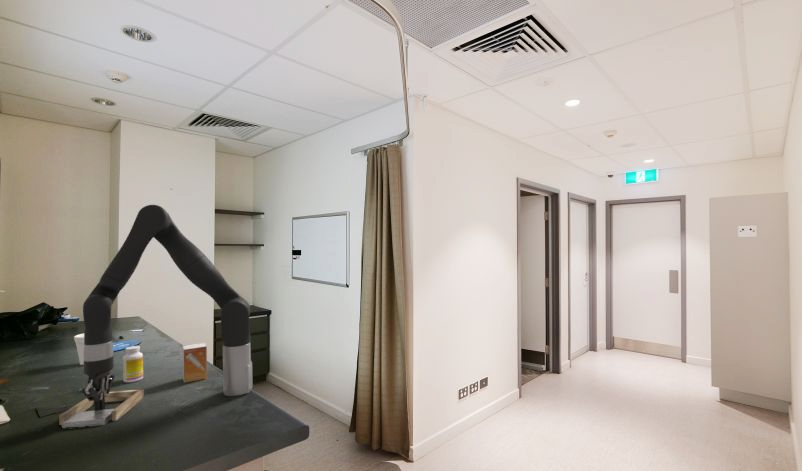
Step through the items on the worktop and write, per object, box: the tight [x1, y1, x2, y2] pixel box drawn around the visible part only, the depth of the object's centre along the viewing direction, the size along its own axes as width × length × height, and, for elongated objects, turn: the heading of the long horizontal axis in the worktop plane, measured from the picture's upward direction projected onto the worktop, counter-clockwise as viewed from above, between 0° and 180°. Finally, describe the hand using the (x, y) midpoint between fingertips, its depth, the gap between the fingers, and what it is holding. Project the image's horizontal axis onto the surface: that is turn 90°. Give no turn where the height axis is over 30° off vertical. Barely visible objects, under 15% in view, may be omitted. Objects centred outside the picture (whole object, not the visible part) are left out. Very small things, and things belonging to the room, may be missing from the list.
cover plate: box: [61, 408, 115, 428], centre depth 118 cm, size 11×7×2 cm, turn 101°
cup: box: [73, 333, 84, 366], centre depth 174 cm, size 10×10×13 cm
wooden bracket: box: [58, 388, 145, 426], centre depth 125 cm, size 15×17×3 cm
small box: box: [182, 342, 208, 384], centre depth 152 cm, size 8×6×13 cm
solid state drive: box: [57, 403, 69, 413], centre depth 127 cm, size 7×10×1 cm
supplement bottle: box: [122, 345, 144, 383], centre depth 152 cm, size 7×7×13 cm
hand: (99, 410), depth 122 cm, fingers closed
